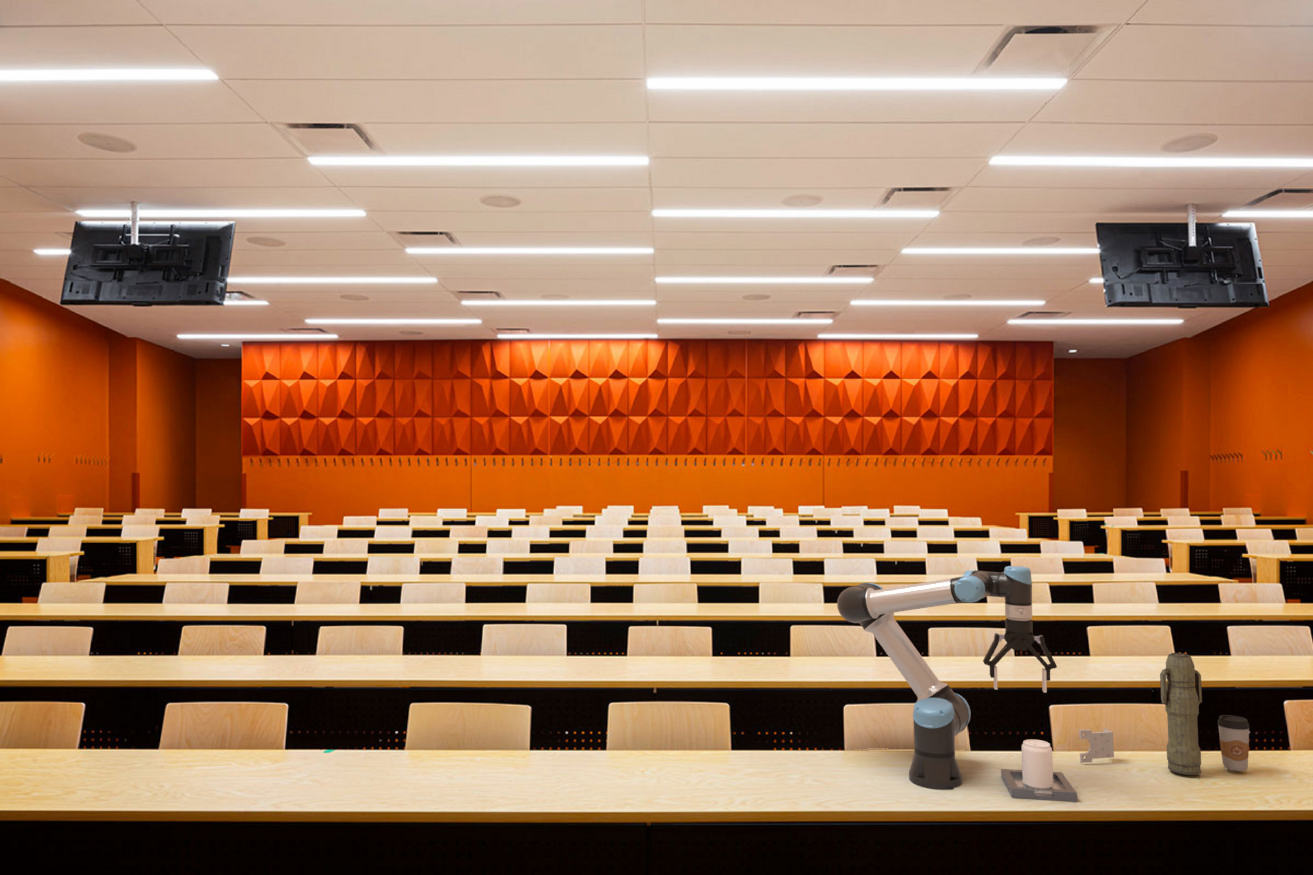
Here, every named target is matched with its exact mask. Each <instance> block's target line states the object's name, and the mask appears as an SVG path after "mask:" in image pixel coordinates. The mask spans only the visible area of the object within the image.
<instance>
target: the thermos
mask: <svg viewBox="0 0 1313 875" xmlns="http://www.w3.org/2000/svg"><path fill="white" fill-rule="evenodd" d="M1159 680H1160V681H1159V682H1160V700H1161V704H1163V705H1164V706H1165V707H1164V710H1165V712H1166V713H1167V715H1166V716H1167V736H1168V737H1167V738H1168V739H1167V740H1168V741H1167V744H1166V760H1167V769H1168V770H1169V771H1172V772H1173V773H1177V774H1181V775H1187V776H1188V775H1189V776H1194V775H1195V776H1197V775H1201V773H1202V770H1201V766H1202V751H1201V748H1200V746H1199V729H1198V727H1199V726H1198V716H1199V714H1200V712H1199V711H1200V710H1199V707H1200V704H1201V703H1202V702H1203V695H1202V694H1203V693H1202V692H1203V690H1202V675H1201V672H1200V671H1199V670H1196V669H1195V663H1194V662H1193V658H1192V656H1191V655H1189V654H1187V653H1182V652H1172V653H1169V654H1168V655H1167V658H1166V660H1165V668H1164V669H1162V670H1161V672H1160V674H1159Z"/></svg>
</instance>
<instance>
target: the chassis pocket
mask: <svg viewBox="0 0 1313 875" xmlns="http://www.w3.org/2000/svg"><path fill="white" fill-rule="evenodd" d="M1000 777H1001V780H1002V782H1003V783H1004V785H1005V787H1006V789H1007V791H1008V793H1009V795H1010V797H1011V799H1021V800H1022V799H1023V800H1040V801H1058V802H1070V803H1071V802H1073V803H1075V802H1076V803H1077V802H1078V793H1077V791H1076V789H1075V788H1074V787H1073V785H1072V784H1071V783H1070V781H1069V780H1068V779H1067V777H1066V776H1065V775H1064V773H1063V772H1060V771H1053V786H1052V787H1050V788H1047V789H1036V788H1032V787H1029V786H1028V785H1026V784H1024V783H1023V776H1022V769H1013V768H1012V769H1011V768H1009V769H1007V768H1000Z"/></svg>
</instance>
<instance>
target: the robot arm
mask: <svg viewBox="0 0 1313 875" xmlns="http://www.w3.org/2000/svg"><path fill="white" fill-rule="evenodd" d="M1003 570H1004V571H1001V572H996V571H984V570H978V569H977V570H976V569H975V570H966V571H964V573H963V575H962V576H957V577H954V578H945V579H939V580H933V581H927V582H920V583H913V584H912V583H911V584H907V585H901V586H895V587H888V588H883V587H882V586H880V584H877V583H874V582H864V583H863V582H862V583H859V584H857V585H853V586H850V587H847V588H846V589H844V590H842V592H840V593H839V596H838V598H837V601H836V602H837V603H836V604H837V605H836V607H837V610H838V613H839V615H840V616H841V618H843V619H844V620H845V621H847V622H849V623H853V624H859V625H860V626H861V627H862V629H863V630H864V631H865V632H868V633H871V634H872V635H873V636H874V638H875V639H876V640H877V642H878V644H879V645H880V646H881V647H882V649H883V650H884V652H885V653H886V655H887V656H888V658H889V659H890V661H891V662H892V663H893V664H894V665H895V667H896V668H897V670H898V671H899V673H900V674H901V676H902V677H903V678H904V680H905V681H906V683H907V684H908V685H909V686H910V689H912V691H913V692H914V694H915V695H916V697H917V700H916V701H915V703H914V704H913V711H912V718H913V719H912V720H913V740H914V741H913V744H914V745H913V747H914V755H913V758H912V761H911V765H910V768H909V770H908V779H909V781H910V783H912V784H914V785H916V786H918V787H920V788H925V789H930V790H937V791H949V790H954V789H956V788H959V787H960V786H961V785H963V776H962V773H961V770H960V767H959V764H958V761H957V759H956V746H955V745H956V740H955V739H956V738H955V737H957V736H958V734H960V733H962V732H963V731H965V729H966V728H967V726H968V724H969V722H970V720H971V709H970V708H971V707H970V705H969V703H968V702H967V700H966V698H964V697H963V695H960V694H958V693H956V692H955V691H953V689H952V687H950V686H949V684H948V683H946V682H942V681H940V680H939V678H938V677H937V676H936V674H935V673H934V672H933V670H932V668H931V667H930V666H929V665H928V663H927V662H926V660H925V659H924V657H922V654H920V652H919V651H918V650H917V648H916V647H915V646H914V643H912V641H911V640H910V639H909V637H908V636H907V635H906V633H905V631H904V630H903V629H902V627H901V626H900V625H899V623H898V622H897V620H896V619H895V617H894V616H895V613H898V612H906V611H907V612H908V611H913V610H918V609H919V610H920V609H921V610H922V609H927V608H928V609H929V608H933V607H940V606H946V605H947V606H949V605H955V604H962V603H971V604H972V603H976V602H979V601H981V599H985V598H986V597H992V598H993V597H995V598H1004V612H1005V613H1004V614H1005V615H1004V616H1005V617H1006V618H1005V619H1004V621H1005V630H1004V634H999V633H997V632H995V633H994V635H993V640H992V643H991V645H990V646H989V648H988V650H987V652H986V654H985V656H984V658H983V660H982V662H983V664H984V665H985V666H988V667H989V676H990V678H992V679H993V689H994V690H997V691H998V690H999V689H998V667H997V664H998V663H999V662H1000V661H1001V660H1002V659H1003V658H1004V657H1005V656H1006V654H1007V653H1008V652H1010V651H1011V649H1012V650H1014V651H1024V652H1026V651H1028V650H1029V651H1030V652H1031V654H1033V656H1034V657H1035V658H1036V659H1037V660H1038V662H1040V664H1041V665H1042V666H1043V667H1042V668H1041V685H1042V690H1041V691H1042V692H1043V694H1044V693H1046V694H1047V691H1048V688H1047V686H1048V685H1047V682H1048V681H1049V682H1050V681H1051V670H1053V669H1057V668H1058V666H1057V663H1056V662H1055V659H1054V658H1053V656H1052V654H1051V652H1050V651H1049V649H1048V647H1047V645H1046V642H1045V641H1046V639H1045V637H1044V636H1043V635H1042V634H1039V635H1034V634H1033V633H1034V632H1033V631H1034V630H1033V629H1034V628H1033V620H1032V619H1033V581H1032V580H1033V579H1032V570H1031V569H1030V568H1029V567H1027V566H1019V565H1008V566H1005V567H1004V569H1003ZM1002 640H1004V641H1005V642H1006V643H1005V644H1004V646H1003V647H1002V648H1001V649H1000V651H999V652H997V654H996V655H995V656H994V657H993V658H992V656H993V655H994V653H995V651H996V650H997V647H998V646H999V643H1001V642H1002ZM1034 642H1037V644H1039V646H1040V647H1041V649H1042V651H1043V653H1044V654H1045V656H1046V658H1047V660H1048V662H1049V663H1048V662H1046V661H1045V660H1044V658H1043V657H1042V656H1041V655H1040V654H1039V653H1038V652H1037V650H1036V649H1035V648H1034V647H1033V646H1032V645H1033V643H1034Z"/></svg>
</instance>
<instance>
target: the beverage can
mask: <svg viewBox="0 0 1313 875" xmlns="http://www.w3.org/2000/svg"><path fill="white" fill-rule="evenodd" d="M1021 766H1022V768H1021V770H1022V776H1023V783H1024V784H1026V785H1028V786H1029V787H1032V788H1036V789H1047V788H1050V787H1052V786H1053V772H1054V768H1053V748H1052V747H1051V743H1049V742H1048V741H1046V740H1041V739H1034V738H1033V739H1032V738H1031V739H1025V740H1023V742H1022V744H1021Z"/></svg>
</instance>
